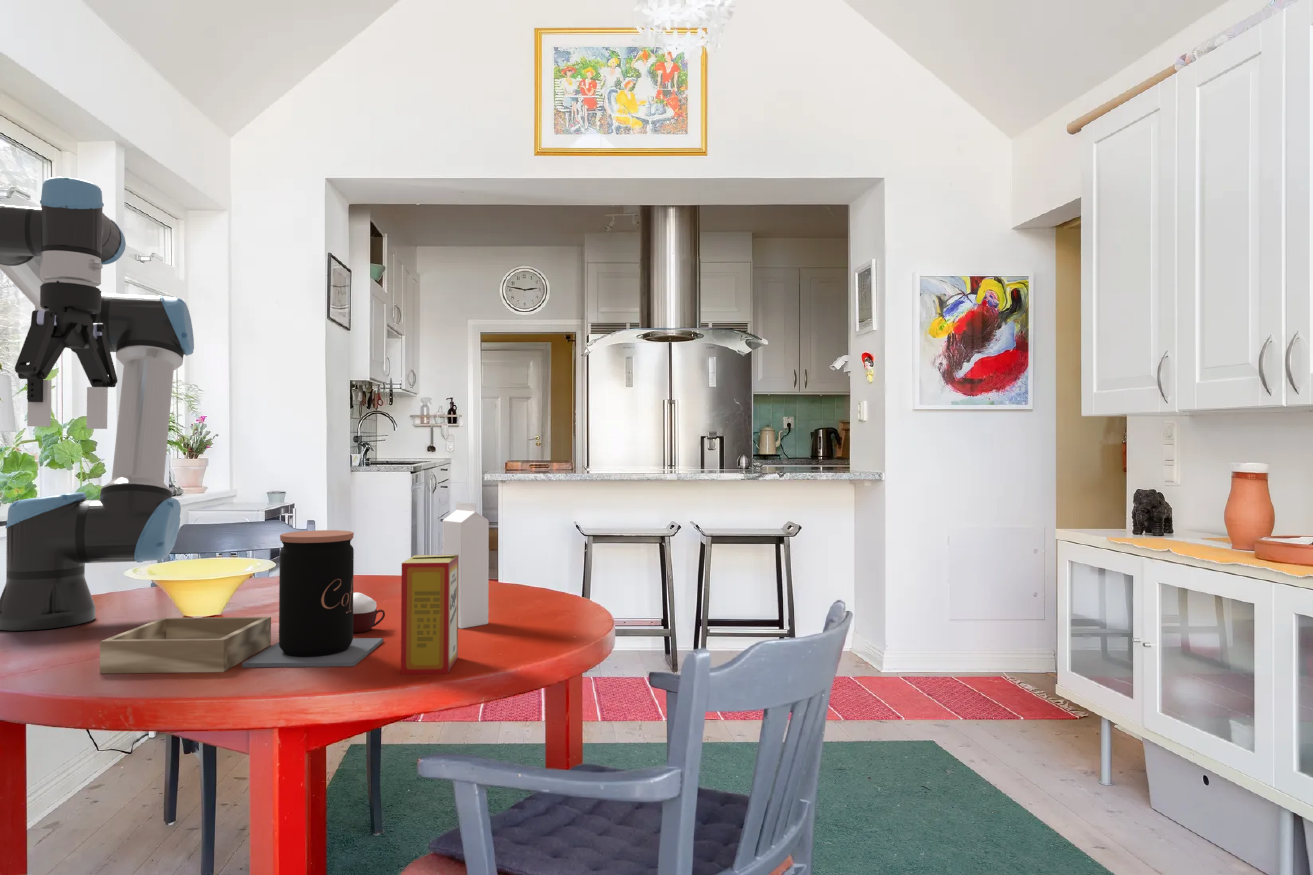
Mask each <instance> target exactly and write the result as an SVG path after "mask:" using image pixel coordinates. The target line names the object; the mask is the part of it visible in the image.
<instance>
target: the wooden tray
mask: <svg viewBox="0 0 1313 875" xmlns="http://www.w3.org/2000/svg"><path fill="white" fill-rule="evenodd" d="M269 646H270V647H271V646H272V616H232V617H231V616H228V617H227V616H226V617H225V616H223V617H222V616H221V617H219V616H215V617H214V616H213V617H209V616H207V617H204V616H203V617H201V616H200V617H199V616H197V617H196V616H195V617H161V618H158V619H155V620H153V621H150V622H148V623H146V624H142V625H140V626H138V627H137V626H136V627H134V628H131V629H129V630H126V631H124V632H121V633H118V634H115V635H113V636H111V637H108V638H105V639H102V640H100V641H99V674H145V673H146V674H149V673H151V674H152V673H153V674H156V673H157V674H160V673H163V674H164V673H170V674H171V673H224V672H227V670H230V669H231V668H234V666H237V665H238V664H240V663H243V662H245V661H246V660H248V658H249V659H250V658H251V657H253V656H255V655H257V654H258V653H260V652H262V650H263V651H264V650H265V649H267V648H269Z"/></svg>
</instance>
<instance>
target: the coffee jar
mask: <svg viewBox="0 0 1313 875" xmlns="http://www.w3.org/2000/svg"><path fill="white" fill-rule="evenodd" d="M354 534H355V533H354V532H353V531H351V530H338V529H337V530H336V529H335V530H334V529H332V530H330V529H329V530H328V529H325V530H322V529H321V530H302V531H300V530H299V531H291V532H284V533H281V534H279V541H280V542H281V543H282V546H283V547H282V548H281V549H280V551H279V576H278V577H279V581H278V583H279V586H278V588H279V589H278V592H279V593H278V594H279V595H278V596H279V598H278V600H279V601H278V606H279V607H278V642H279V646H280V648H281V649H282V650H283V653H284V654H285V655H288V656H293V657H319V656H327V655H332V654H337V653H340V652H343V651H345V650H347V649H348V647H349V646H350V645H351V643H352V640H353V638H354V633H353V593H354V572H355V571H354V567H355V566H354V561H355V560H354V558H355V557H354V554H355V550H354V547H353V545H352V544H351V541H352V540H353V538H354Z"/></svg>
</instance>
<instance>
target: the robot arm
mask: <svg viewBox="0 0 1313 875" xmlns="http://www.w3.org/2000/svg"><path fill="white" fill-rule="evenodd" d="M41 188H42V189H41V197H40V200H39V204H40V206H41V207H32V206H31V207H29V206H17V205H5V204H0V270H1V271H2V272H3V273H4V275H6V277H7V278H8V279H9V280H10V281H11V283H13V285H15V286H16V287H17V289H18V290H19V291H20V292H21V293H22V294H23V295H24V296H25V297H26V298H27V299H28V300H29V302H31V303H32V305H33V306H34V310H32V312H31V317H30V320H31V321H30V326H29V328H28V331H27V335H26V337H25V339H24V341H23V344H22V347H21V350H20V353H19V355H18V357H17V361H16V363H15V366H14V372H15V373H16V374H17V376H18V378H19V380H27V381H26V385H27V386H26V387H27V388H26V390H27V391H26V400H27V412H26V413H27V414H26V415H27V416H26V418H27V424H26V425H27V427H52V380H51V379H47V378H48V376H49V375H50V373H51V371H52V370H53V368H54V366H55V364H56V363H57V361H58V360H59V358H60V357H61V355H62V354H63V352H64V350H65V349H70V350H71V351H72V352H73V353H75V354H76V356H77V358H78V360H79V363H80V364H81V367H82V369H83V371H84V374H85V375H86V377H87V380H88V381H89V384H90V386H87V387H86V430H87V429H88V430H90V429H91V430H94V429H95V430H97V429H98V430H99V429H100V430H107V429H108V400H109V399H108V396H109V395H108V394H109V390H108V389H109V388H115V387H116V386H117V383H118V376H117V374H116V368H115V365H114V361H113V358H112V354H111V353H115V358H116V359H117V361H118V362H119V363H121V364H122V365H123V370H122V379H121V387H120V388H121V389H120V397H119V398H120V399H119V408H118V416H117V425H116V435H115V442H114V443H115V445H114V453H113V454H114V455H113V465H112V471H111V480H110V481H109V482H107V483H105V485H103V486H101V488H100V494H99V495H100V496H99V498H98V499H87V498H88V496H87V495H86V493H85V492H84V491H81V492H80V491H79V492H72V493H71V492H70V493H63V494H56V495H55V494H54V495H49V496H40V497H31V498H25V499H18V500H15V501H13V502H12V503H10V505H9V507H8V510H7V521H6V525H5V529H6V551H5V552H6V553H5V554H6V557H5V558H6V559H5V560H6V563H5V564H6V579H5V580H6V581H5V586H4V587H3V590H2V592H1V595H0V631H13V632H14V631H36V630H38V631H39V630H49V629H57V628H65V627H71V626H75V625H80V624H85V623H88V622H91V621H93V620H95V619H96V610H97V609H96V605H95V601H94V599H93V597H92V593H91V590H90V589H89V586H88V583H87V581H86V576H85V575H86V574H85V573H86V572H85V568H86V567H85V566H86V564H101V563H104V564H106V563H129V562H130V563H131V562H133V563H134V562H136V563H144V562H149V561H150V562H153V561H159V560H163V559H165V558H167V557H168V556H169V555H170V554H171V553H172V551H173V549H174V546H175V545H176V541H177V538H178V534H179V530H180V524H181V511H182V510H181V503H180V501H179V500H178V499H176V498H174V497H173V491H172V489H171V488H170V487H169V486H168V485H166V484H165V473H166V460H167V450H168V439H169V428H170V415H171V404H172V394H173V393H172V392H173V382H174V371H176V370H177V369H179V368H180V367H181V366H182V365H183V362H184V355H185V356H190V355H192V354H193V353H194V349H195V339H194V331H193V325H192V317H191V314H190V310H189V307H188V305H187V303H186V302H185V301H184V299H182V298H180V297H175V296H174V297H173V296H163V295H161V294H159V295H145V294H143V295H140V294H139V295H138V294H123V293H107V292H102V290H101V289H100V288H98V286H100V285H101V284H102V269H103V266H104V265H110V264H113V263H114V262H117V261H118V260H119V259H120V258H121V257H122V255H123V254H124V252H125V250H126V245H127V243H126V238H125V235H124V232H123V231H122V229H121V228H120V227H119V225H118V224H117V223H116V222H115V221H113V219H110V217H108V216H106V215H105V213H104V212H103V208H104V206H105V204H104V203H103V192H102V190H101V188H100V187H99V186H98V185H96V183H92V182H90V181H87V180H84V179H79V178H74V177H62V176H57V177H49V178H47V179H45V180H44V181H43V182H42V187H41Z"/></svg>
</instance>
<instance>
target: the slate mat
mask: <svg viewBox="0 0 1313 875" xmlns="http://www.w3.org/2000/svg"><path fill="white" fill-rule="evenodd" d="M383 642H384V638H383V637H375V638H373V637H372V638H371V637H370V638H369V637H367V638H364V637H363V638H361V637H359V638H354V637H353V640H352V643H351V645H350V646H349V647H348V649H347V650H345V651H343V652H340V653H337V654H332V655H327V656H319V657H293V656H288V655H285V654H284V653H283V650H282V649H281V648H280V646H279V641H278V642H276V643H274V644H272V645H270V647H269V646H268V647H266V648H265V649H263V651H262V650H261V651H260V652H258V653H256V654H254V655H253V656H251V657H249V659H248V658H247V659H246V660H244V661H242V662H241V668H304V667H305V668H306V667H307V668H313V667H315V668H317V667H322V668H323V667H355V666H356V665H358V663H360V662H361V661H362V660H364V658H366V657H367V656H368V655H369V654H370V653H372V652H373V651H374V650H375V649H377V647H379V646H380V645H381V644H383Z"/></svg>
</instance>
